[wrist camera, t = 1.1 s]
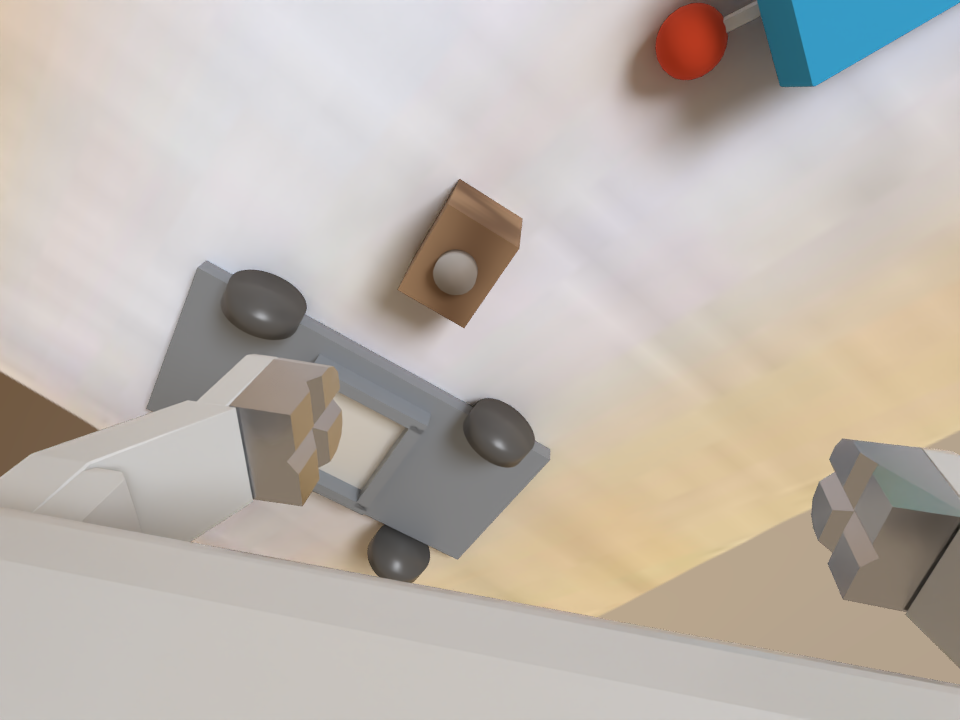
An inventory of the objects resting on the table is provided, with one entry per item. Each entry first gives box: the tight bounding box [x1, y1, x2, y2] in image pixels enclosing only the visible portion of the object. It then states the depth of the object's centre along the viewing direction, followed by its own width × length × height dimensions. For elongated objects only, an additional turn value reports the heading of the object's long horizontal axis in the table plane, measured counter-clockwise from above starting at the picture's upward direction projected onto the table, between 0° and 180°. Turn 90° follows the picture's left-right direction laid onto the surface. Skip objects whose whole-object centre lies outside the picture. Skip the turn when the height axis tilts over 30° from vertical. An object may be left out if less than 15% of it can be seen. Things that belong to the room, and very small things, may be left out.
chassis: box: [147, 261, 550, 583], centre depth 44 cm, size 28×17×5 cm, turn 59°
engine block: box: [398, 179, 522, 328], centre depth 35 cm, size 4×6×6 cm
